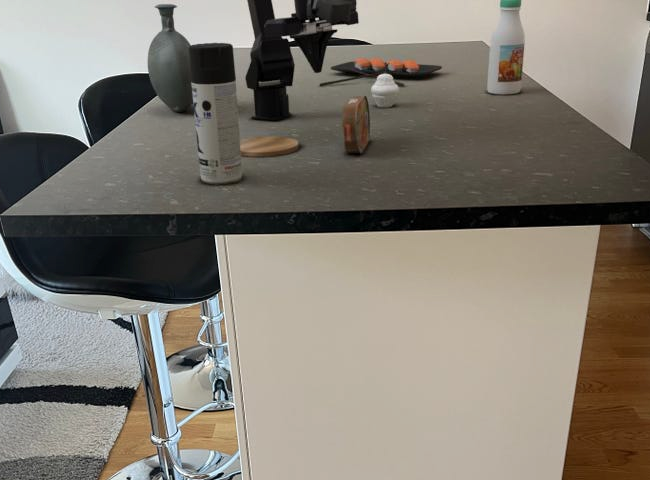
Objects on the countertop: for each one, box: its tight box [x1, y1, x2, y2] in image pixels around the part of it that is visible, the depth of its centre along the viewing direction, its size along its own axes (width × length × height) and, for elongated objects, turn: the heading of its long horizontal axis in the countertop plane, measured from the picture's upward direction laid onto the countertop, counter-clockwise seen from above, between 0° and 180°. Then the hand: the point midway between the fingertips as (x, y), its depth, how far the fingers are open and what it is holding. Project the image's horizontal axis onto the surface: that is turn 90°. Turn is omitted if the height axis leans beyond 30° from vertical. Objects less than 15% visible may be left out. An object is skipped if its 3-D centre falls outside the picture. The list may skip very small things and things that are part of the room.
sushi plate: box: [319, 57, 443, 87], centre depth 203 cm, size 29×30×4 cm
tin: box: [341, 94, 371, 155], centre depth 136 cm, size 15×3×8 cm, turn 168°
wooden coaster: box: [240, 136, 299, 158], centre depth 140 cm, size 12×12×1 cm
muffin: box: [370, 73, 400, 108], centre depth 170 cm, size 6×6×7 cm
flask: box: [147, 3, 194, 113], centre depth 168 cm, size 12×17×22 cm
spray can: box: [189, 42, 243, 185], centre depth 118 cm, size 7×7×20 cm
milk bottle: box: [486, 0, 526, 95], centre depth 177 cm, size 8×8×20 cm
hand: (317, 72), depth 144 cm, fingers closed
